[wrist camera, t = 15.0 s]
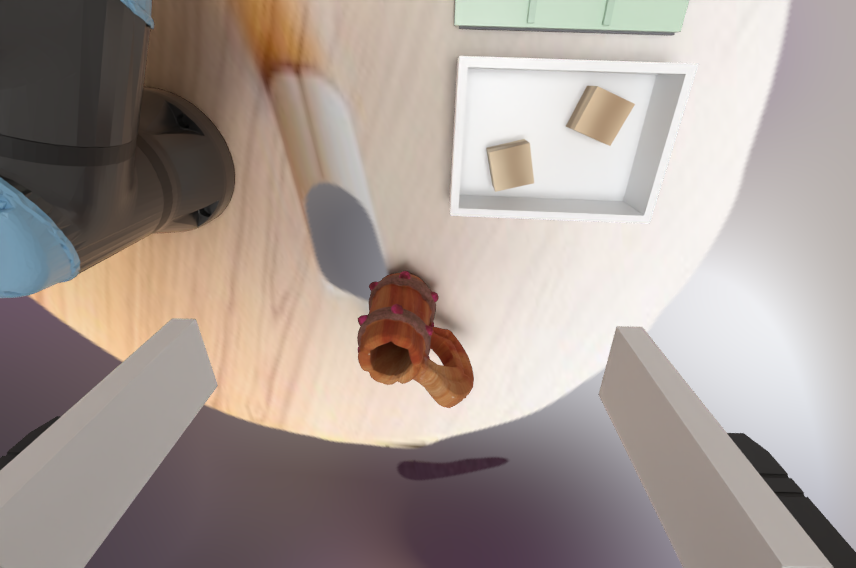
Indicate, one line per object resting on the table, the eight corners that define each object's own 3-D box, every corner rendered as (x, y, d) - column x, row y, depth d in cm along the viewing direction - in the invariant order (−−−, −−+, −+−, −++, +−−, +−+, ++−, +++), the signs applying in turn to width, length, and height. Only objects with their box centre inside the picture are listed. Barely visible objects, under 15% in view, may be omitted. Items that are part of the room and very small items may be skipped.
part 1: (492, 184, 43) (495, 191, 41) (486, 147, 41) (489, 152, 39) (528, 176, 43) (534, 183, 40) (524, 138, 41) (529, 142, 38)
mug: (357, 294, 51) (326, 369, 38) (392, 249, 48) (372, 313, 35) (445, 350, 55) (445, 437, 42) (483, 312, 52) (496, 392, 38)
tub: (449, 199, 45) (449, 215, 40) (457, 59, 38) (459, 55, 33) (625, 206, 44) (649, 223, 39) (663, 65, 38) (698, 63, 33)
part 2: (565, 126, 40) (574, 129, 37) (587, 85, 38) (597, 86, 36) (599, 141, 41) (610, 146, 38) (622, 102, 39) (635, 104, 36)
